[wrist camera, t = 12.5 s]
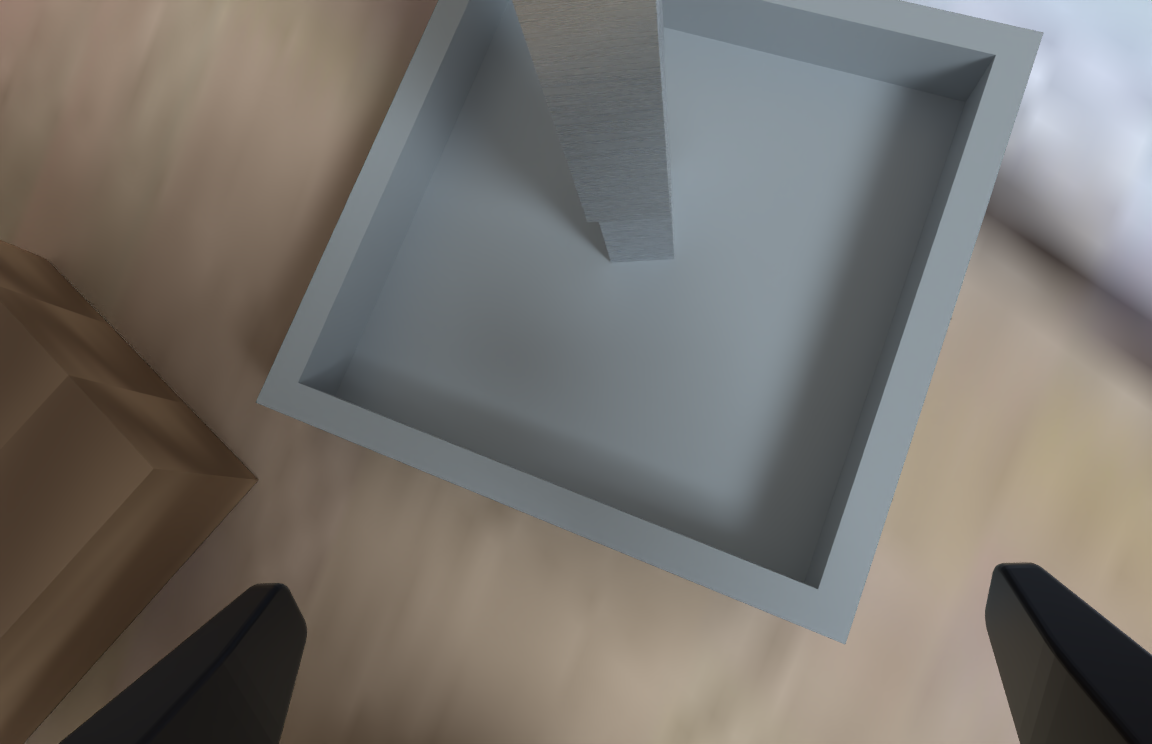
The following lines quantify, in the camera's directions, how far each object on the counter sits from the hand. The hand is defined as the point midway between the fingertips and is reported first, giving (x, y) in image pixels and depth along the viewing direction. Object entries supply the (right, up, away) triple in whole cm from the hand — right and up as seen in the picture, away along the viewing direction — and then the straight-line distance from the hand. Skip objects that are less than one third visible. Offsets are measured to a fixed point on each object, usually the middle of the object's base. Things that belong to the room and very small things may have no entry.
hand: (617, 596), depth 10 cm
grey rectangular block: (+1, +7, +10) cm, 12 cm away
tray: (+1, +6, +10) cm, 12 cm away
